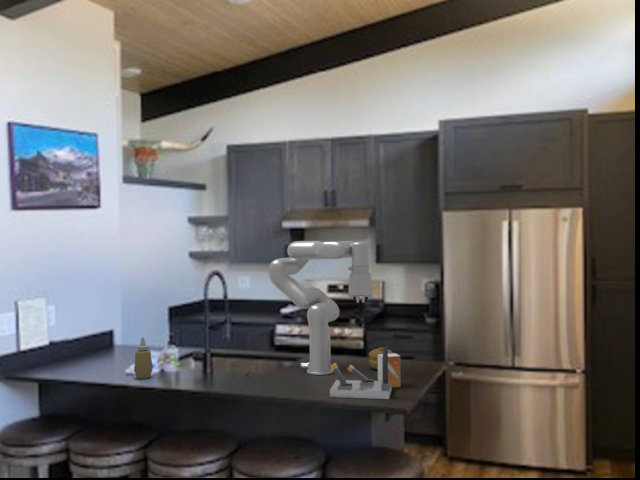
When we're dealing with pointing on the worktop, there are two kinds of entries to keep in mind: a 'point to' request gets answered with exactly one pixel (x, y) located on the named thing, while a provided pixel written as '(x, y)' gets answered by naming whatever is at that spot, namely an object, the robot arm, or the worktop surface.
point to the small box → (390, 369)
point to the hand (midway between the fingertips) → (361, 311)
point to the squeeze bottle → (143, 361)
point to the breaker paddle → (357, 373)
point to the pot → (376, 357)
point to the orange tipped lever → (338, 374)
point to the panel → (360, 389)
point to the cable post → (385, 370)
